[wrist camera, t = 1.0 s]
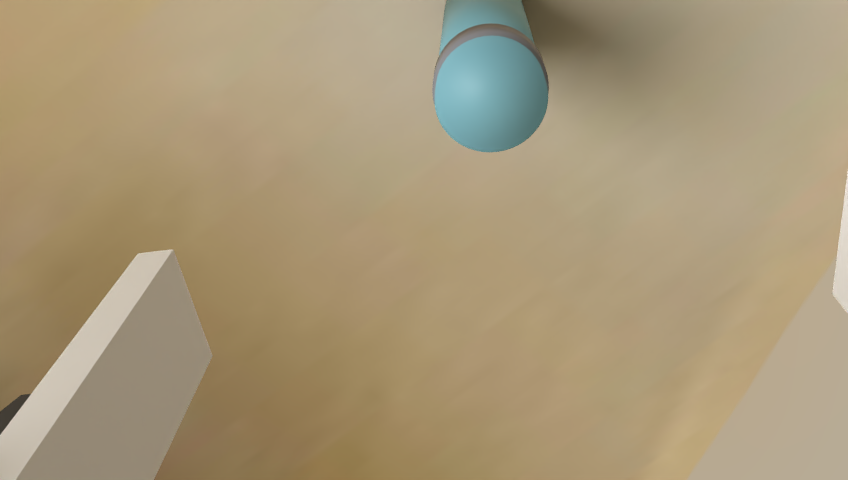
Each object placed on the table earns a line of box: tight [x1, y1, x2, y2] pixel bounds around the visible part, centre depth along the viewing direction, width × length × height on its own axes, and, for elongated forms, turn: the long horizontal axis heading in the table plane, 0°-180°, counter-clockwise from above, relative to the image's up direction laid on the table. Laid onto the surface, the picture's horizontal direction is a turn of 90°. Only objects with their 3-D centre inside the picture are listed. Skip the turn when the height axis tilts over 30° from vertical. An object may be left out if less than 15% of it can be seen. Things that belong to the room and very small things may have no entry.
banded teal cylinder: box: [433, 0, 549, 152], centre depth 29 cm, size 4×4×12 cm
